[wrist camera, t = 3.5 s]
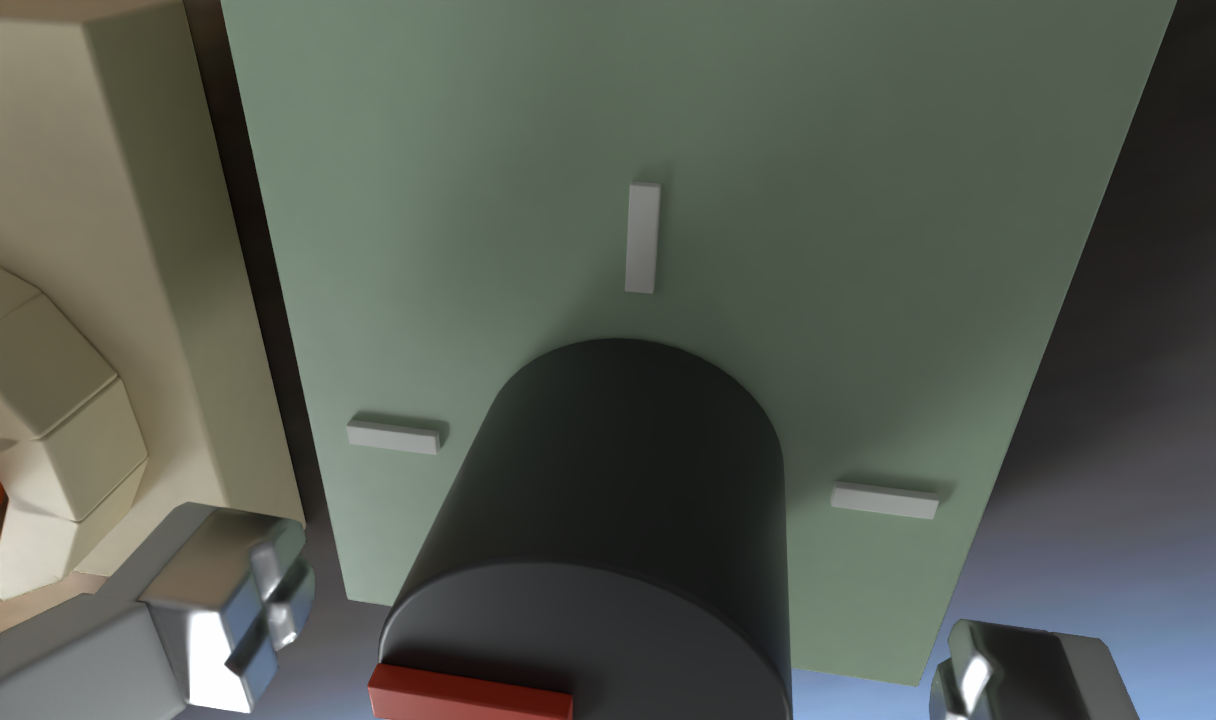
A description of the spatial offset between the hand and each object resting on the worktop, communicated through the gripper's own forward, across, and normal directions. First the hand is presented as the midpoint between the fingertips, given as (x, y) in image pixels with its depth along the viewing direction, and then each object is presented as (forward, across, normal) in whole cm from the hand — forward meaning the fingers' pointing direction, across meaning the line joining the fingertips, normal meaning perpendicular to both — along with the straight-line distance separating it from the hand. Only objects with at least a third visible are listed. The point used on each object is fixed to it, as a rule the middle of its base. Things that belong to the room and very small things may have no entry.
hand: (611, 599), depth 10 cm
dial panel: (+5, 0, -2) cm, 6 cm away
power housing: (+5, +12, 0) cm, 13 cm away
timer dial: (+2, 0, 0) cm, 2 cm away
